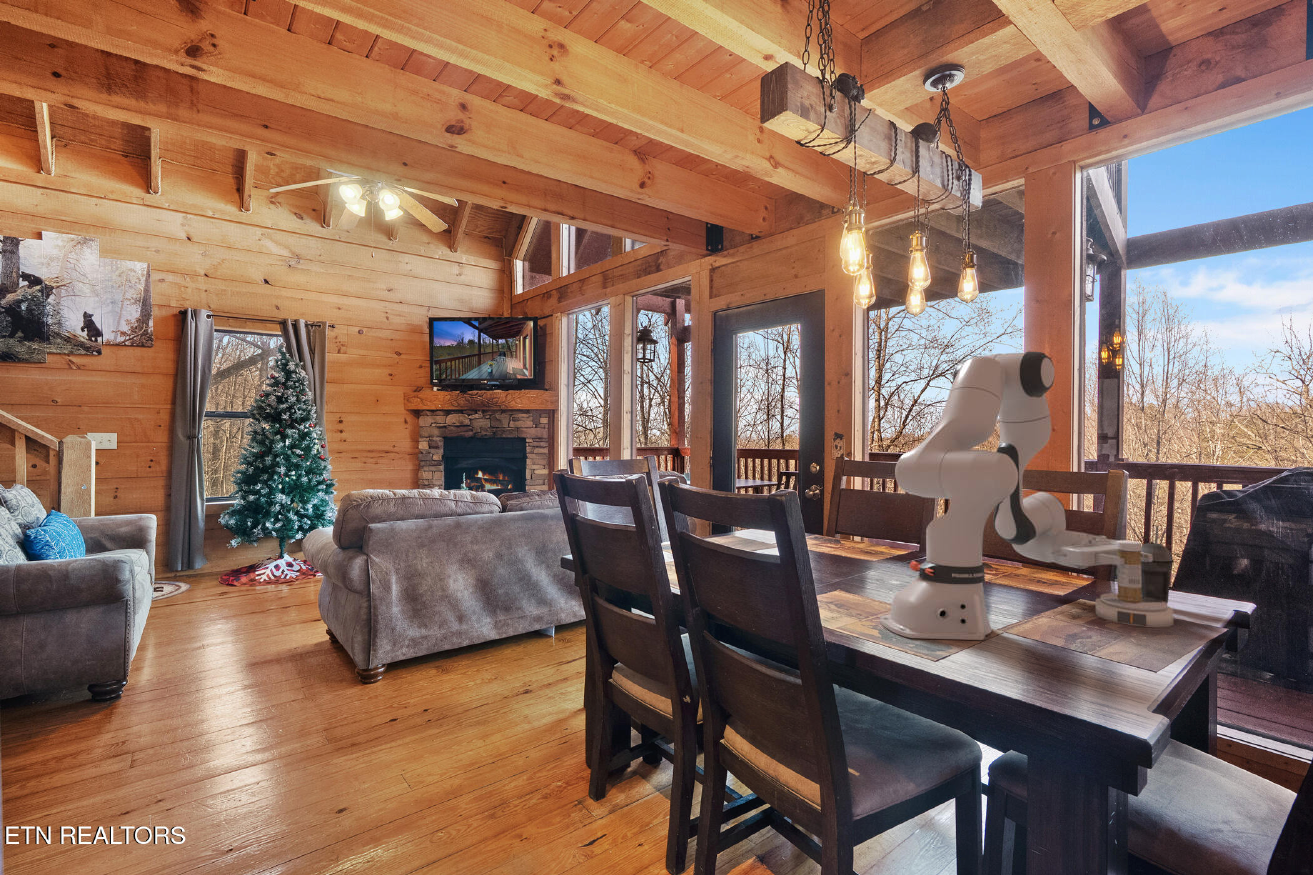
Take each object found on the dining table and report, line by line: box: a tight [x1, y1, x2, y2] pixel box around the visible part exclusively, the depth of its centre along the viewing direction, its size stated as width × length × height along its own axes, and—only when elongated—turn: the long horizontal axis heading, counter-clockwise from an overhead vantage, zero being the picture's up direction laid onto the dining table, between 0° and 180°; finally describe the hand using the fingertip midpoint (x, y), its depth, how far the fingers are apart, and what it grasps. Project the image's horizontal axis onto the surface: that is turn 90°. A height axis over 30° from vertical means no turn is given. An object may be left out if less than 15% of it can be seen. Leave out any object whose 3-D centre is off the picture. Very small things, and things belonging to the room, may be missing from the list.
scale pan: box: [1100, 592, 1168, 612], centre depth 140 cm, size 12×12×1 cm
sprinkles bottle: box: [1116, 539, 1143, 602], centre depth 139 cm, size 5×5×14 cm
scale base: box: [1095, 597, 1174, 628], centre depth 140 cm, size 14×14×3 cm
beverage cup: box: [1141, 525, 1175, 604], centre depth 149 cm, size 7×7×20 cm
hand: (1136, 559), depth 139 cm, fingers open, 8 cm apart
